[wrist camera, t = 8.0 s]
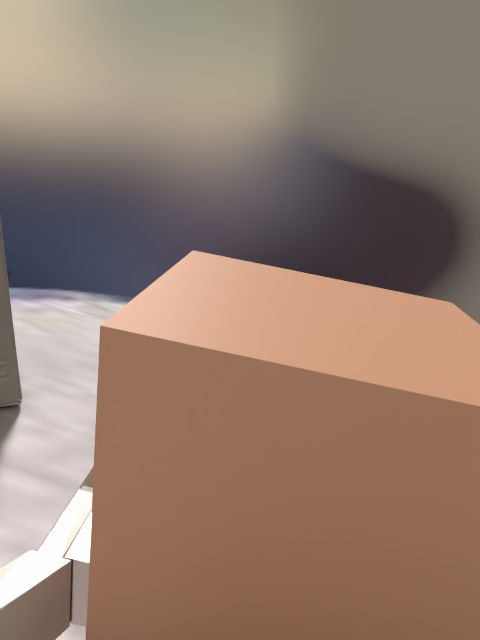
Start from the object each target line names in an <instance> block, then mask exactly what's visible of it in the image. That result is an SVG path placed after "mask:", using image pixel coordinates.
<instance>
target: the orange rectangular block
mask: <svg viewBox="0 0 480 640" xmlns="http://www.w3.org/2000/svg"><path fill="white" fill-rule="evenodd" d="M86 640H480V325H479V324H478V323H477V322H475V321H474V320H473V319H472V318H470V317H469V316H468V315H466V314H465V313H464V312H463V311H461V310H460V309H459V308H458V307H456V306H455V305H454V304H453V303H450V302H446V301H441V300H436V299H431V298H426V297H421V296H416V295H411V294H406V293H401V292H396V291H391V290H386V289H382V288H376V287H372V286H367V285H361V284H357V283H352V282H347V281H342V280H337V279H332V278H327V277H322V276H317V275H312V274H307V273H302V272H297V271H292V270H287V269H282V268H278V267H273V266H268V265H263V264H257V263H253V262H247V261H242V260H238V259H233V258H228V257H223V256H218V255H213V254H208V253H203V252H198V251H192V252H191V253H189V254H188V255H187V256H186V257H184V258H183V259H182V260H181V261H180V262H178V263H177V264H176V265H175V266H173V267H172V268H171V269H170V270H168V271H167V272H166V273H165V274H164V275H162V276H161V277H160V278H159V279H157V280H156V281H155V282H154V283H152V284H151V285H150V286H149V287H148V288H146V289H145V290H144V291H142V293H140V294H139V295H138V296H136V297H135V298H134V299H133V300H131V301H130V302H129V303H128V304H126V305H125V306H124V307H123V308H122V309H120V310H119V311H118V312H117V313H115V314H114V315H113V316H112V317H110V318H109V319H108V320H107V321H105V322H104V323H103V324H102V325H101V326H100V346H99V367H98V389H97V410H96V431H95V453H94V474H93V495H92V517H91V538H90V559H89V581H88V602H87V623H86Z"/></svg>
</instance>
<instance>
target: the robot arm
mask: <svg viewBox="0 0 480 640" xmlns="http://www.w3.org/2000/svg"><path fill="white" fill-rule="evenodd" d="M92 495H93V488H91V487H87V486H82V487H81V488H80V489H79V490H78V491H77V492H76V493H75V495H74V496H73V498H72V499H71V501H70V502H69V504H68V505H67V507H66V508H65V510H64V511H63V513H62V514H61V516H60V517H59V519H58V520H57V522H56V523H55V525H54V526H53V528H52V529H51V531H50V532H49V534H48V535H47V537H46V538H45V540H44V541H43V543H42V544H41V546H40V547H39V549H38V550H37V551H32V550H29V551H27V552H26V553H24V554H22V555H21V556H19V557H17V558H16V559H14V560H12V561H11V562H9V563H7V564H6V565H4V566H3V567H1V568H0V640H55V639H56V638H57V637H58V636H60V635H61V634H62V633H63V632H64V631H65V630H66V629H67V628H68V627H69V625H70V623H73V624H77V625H82V626H86V623H87V602H88V581H89V559H90V538H91V517H92Z"/></svg>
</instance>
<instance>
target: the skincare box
mask: <svg viewBox="0 0 480 640" xmlns="http://www.w3.org/2000/svg"><path fill="white" fill-rule="evenodd" d="M21 400H22V394H21V386H20V378H19V371H18V362H17V354H16V346H15V335H14V328H13V321H12V313H11V304H10V295H9V287H8V278H7V270H6V262H5V253H4V245H3V236H2V227H1V218H0V407H4V406H11V405H18V404H20V403H21Z"/></svg>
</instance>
